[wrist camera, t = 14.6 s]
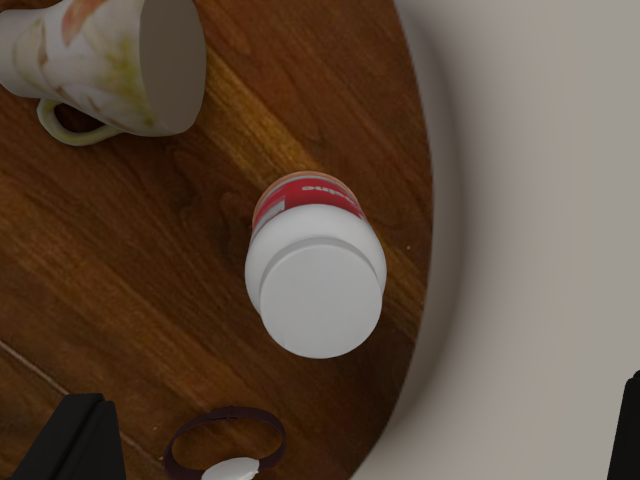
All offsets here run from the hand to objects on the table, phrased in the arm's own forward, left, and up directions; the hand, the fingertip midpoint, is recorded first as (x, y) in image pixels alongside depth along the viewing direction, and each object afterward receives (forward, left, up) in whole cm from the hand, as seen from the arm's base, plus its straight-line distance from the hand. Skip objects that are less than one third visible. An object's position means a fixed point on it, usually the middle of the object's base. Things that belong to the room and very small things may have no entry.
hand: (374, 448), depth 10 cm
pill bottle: (+2, 0, -22) cm, 22 cm away
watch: (+16, -6, -22) cm, 28 cm away
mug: (-7, -10, -22) cm, 26 cm away
